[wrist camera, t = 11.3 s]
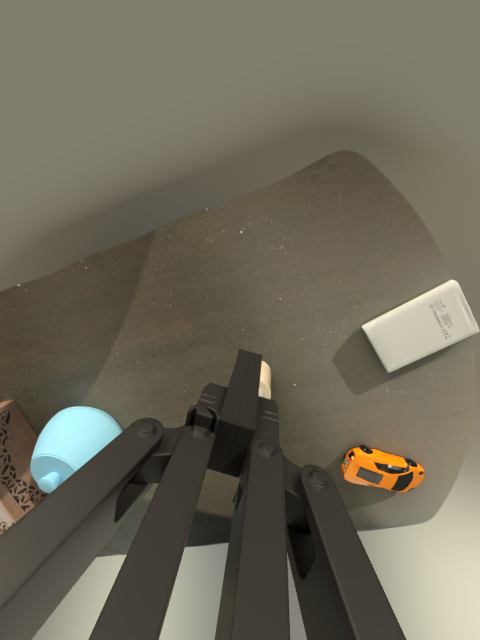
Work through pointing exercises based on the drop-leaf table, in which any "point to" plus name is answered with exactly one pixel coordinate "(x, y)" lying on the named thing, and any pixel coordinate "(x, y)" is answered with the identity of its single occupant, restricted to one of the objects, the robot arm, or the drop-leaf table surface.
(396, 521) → the drop-leaf table surface
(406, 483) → the toy car
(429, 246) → the drop-leaf table surface
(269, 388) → the salt shaker
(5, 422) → the tissue box cover
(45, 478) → the sugar bowl
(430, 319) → the hard drive
